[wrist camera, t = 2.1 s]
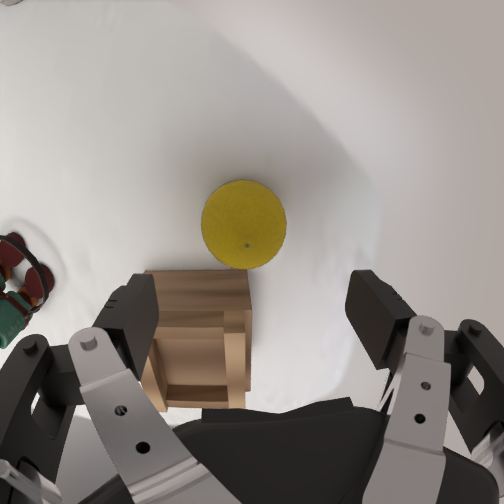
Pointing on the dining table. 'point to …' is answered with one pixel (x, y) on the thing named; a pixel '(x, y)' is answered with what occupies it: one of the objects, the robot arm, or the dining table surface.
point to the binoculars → (24, 301)
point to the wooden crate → (200, 340)
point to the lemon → (243, 224)
